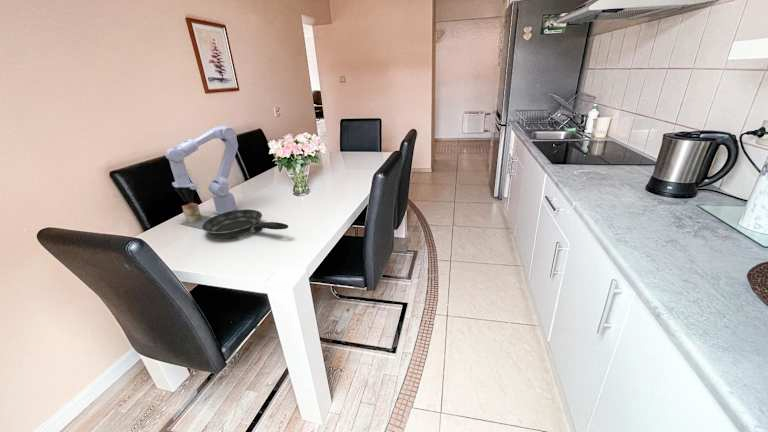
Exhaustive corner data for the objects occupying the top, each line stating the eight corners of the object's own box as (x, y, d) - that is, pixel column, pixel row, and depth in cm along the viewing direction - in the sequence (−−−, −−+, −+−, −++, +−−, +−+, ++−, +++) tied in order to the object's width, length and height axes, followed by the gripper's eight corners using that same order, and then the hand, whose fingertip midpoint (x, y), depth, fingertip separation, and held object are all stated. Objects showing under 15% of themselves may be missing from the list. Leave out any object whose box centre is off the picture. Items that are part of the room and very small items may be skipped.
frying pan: (191, 236, 138) (187, 223, 136) (237, 215, 159) (234, 203, 156) (266, 255, 121) (263, 240, 118) (307, 228, 142) (305, 215, 139)
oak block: (196, 217, 157) (191, 202, 154) (201, 218, 155) (197, 203, 152) (186, 221, 153) (181, 206, 150) (192, 222, 151) (187, 207, 148)
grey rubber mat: (200, 215, 160) (200, 214, 160) (225, 220, 153) (225, 220, 153) (180, 224, 151) (180, 223, 151) (205, 230, 144) (204, 229, 144)
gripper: (162, 175, 145) (171, 202, 150) (182, 178, 139) (191, 206, 144) (177, 171, 151) (185, 197, 156) (197, 174, 145) (204, 201, 150)
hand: (189, 201), depth 151 cm, fingers open, 3 cm apart
